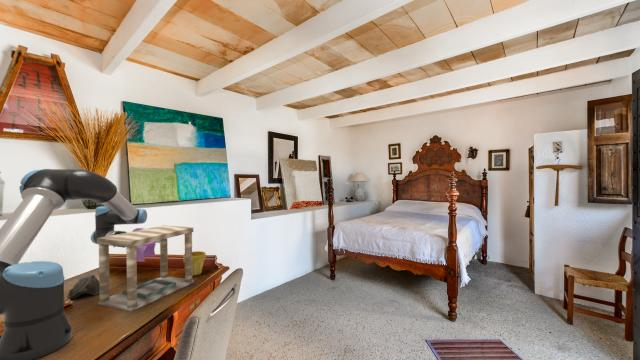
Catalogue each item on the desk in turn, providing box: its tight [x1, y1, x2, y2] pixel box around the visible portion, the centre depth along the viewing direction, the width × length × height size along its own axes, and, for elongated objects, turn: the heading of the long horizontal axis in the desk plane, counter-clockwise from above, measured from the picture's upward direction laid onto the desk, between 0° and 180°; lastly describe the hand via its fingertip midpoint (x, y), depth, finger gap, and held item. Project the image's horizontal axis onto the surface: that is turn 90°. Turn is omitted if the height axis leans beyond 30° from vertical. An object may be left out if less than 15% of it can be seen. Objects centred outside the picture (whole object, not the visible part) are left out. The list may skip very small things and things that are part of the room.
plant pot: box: [182, 250, 207, 276], centre depth 137 cm, size 10×10×10 cm
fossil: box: [67, 273, 100, 300], centre depth 114 cm, size 11×9×10 cm
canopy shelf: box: [96, 225, 195, 312], centre depth 115 cm, size 29×18×25 cm, turn 160°
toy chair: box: [132, 227, 157, 263], centre depth 129 cm, size 8×9×15 cm
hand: (151, 242), depth 128 cm, fingers closed on toy chair, 8 cm apart
